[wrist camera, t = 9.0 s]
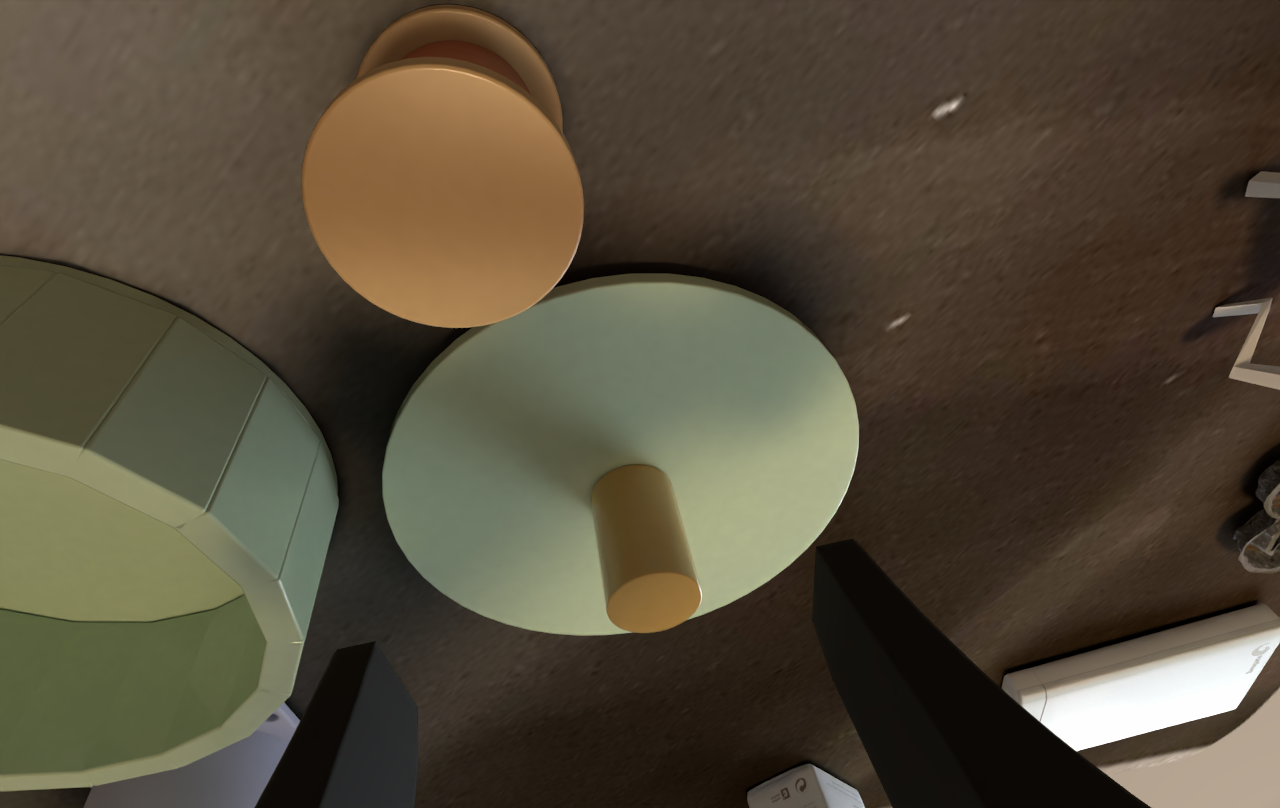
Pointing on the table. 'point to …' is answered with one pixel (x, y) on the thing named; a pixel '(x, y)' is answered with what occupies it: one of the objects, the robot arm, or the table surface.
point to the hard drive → (1149, 679)
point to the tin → (144, 532)
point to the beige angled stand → (1255, 304)
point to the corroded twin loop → (1263, 527)
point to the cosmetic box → (804, 791)
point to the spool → (446, 173)
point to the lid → (620, 455)
